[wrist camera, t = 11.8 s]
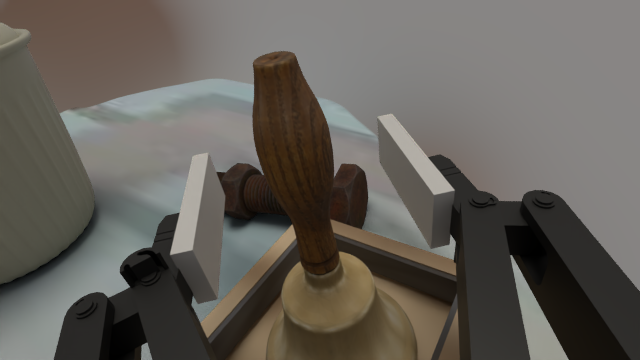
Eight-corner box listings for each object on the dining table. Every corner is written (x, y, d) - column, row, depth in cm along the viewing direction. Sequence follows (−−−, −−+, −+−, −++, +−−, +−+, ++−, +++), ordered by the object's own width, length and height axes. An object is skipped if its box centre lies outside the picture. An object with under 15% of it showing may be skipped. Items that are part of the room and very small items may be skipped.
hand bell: (278, 459, 16) (101, 162, 7) (258, 305, 23) (155, 50, 13) (448, 397, 17) (503, 66, 8) (381, 267, 24) (366, 6, 14)
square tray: (401, 575, 13) (400, 558, 11) (187, 396, 20) (161, 364, 18) (484, 311, 21) (492, 273, 19) (312, 244, 28) (305, 210, 26)
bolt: (220, 213, 35) (367, 231, 30) (183, 225, 31) (348, 249, 25) (219, 155, 35) (369, 162, 29) (180, 158, 30) (350, 167, 24)
